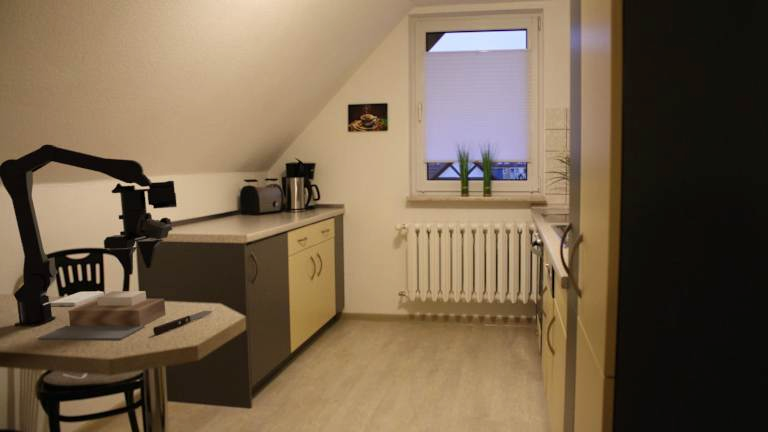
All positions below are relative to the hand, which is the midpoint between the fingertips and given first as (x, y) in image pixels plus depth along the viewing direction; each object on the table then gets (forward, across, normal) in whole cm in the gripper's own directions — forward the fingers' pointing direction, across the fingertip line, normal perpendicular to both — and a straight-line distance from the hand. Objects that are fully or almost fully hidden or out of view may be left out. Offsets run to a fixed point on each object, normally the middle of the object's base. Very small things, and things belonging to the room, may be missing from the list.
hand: (139, 271), depth 157 cm
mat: (+10, -20, 0) cm, 22 cm away
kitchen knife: (+10, -12, -18) cm, 25 cm away
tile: (+6, -8, 0) cm, 10 cm away
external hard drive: (+11, +10, +27) cm, 31 cm away
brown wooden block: (+10, -10, 0) cm, 14 cm away
